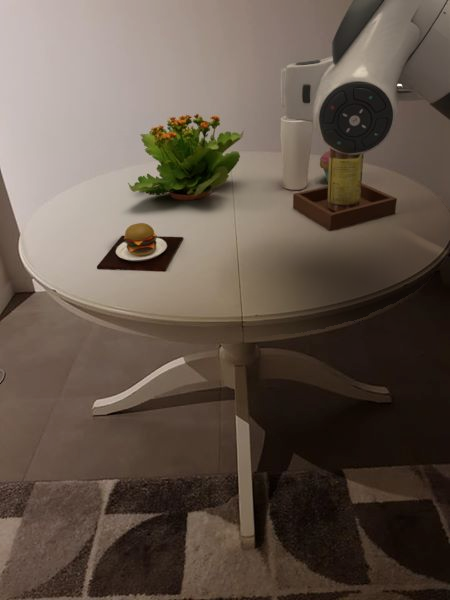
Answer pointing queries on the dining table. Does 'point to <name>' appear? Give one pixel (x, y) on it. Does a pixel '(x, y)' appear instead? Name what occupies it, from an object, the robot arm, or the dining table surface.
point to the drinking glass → (295, 152)
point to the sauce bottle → (344, 180)
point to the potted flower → (188, 159)
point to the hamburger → (141, 250)
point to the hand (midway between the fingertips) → (354, 73)
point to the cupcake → (325, 163)
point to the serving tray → (369, 208)
